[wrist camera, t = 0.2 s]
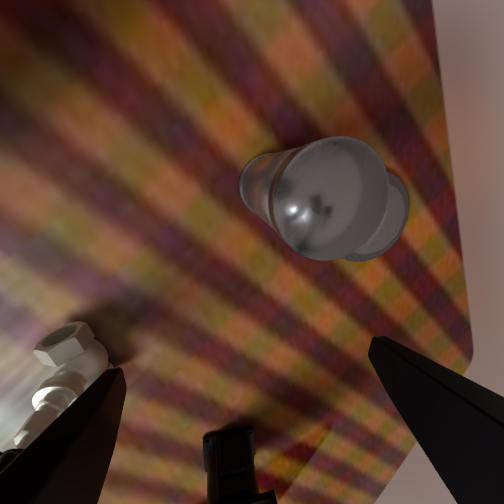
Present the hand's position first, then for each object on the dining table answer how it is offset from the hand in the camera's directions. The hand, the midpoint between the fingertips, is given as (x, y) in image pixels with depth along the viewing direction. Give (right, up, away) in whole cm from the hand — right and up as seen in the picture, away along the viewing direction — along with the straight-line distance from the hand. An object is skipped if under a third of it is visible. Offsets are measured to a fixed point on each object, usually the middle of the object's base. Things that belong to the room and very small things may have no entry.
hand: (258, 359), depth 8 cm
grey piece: (+1, +10, +12) cm, 16 cm away
